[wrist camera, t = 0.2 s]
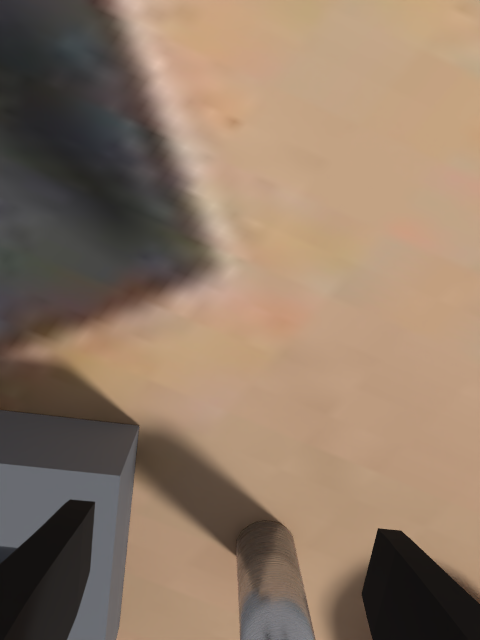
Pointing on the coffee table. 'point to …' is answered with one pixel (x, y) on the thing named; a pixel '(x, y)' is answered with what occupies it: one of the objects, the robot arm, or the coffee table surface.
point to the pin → (270, 585)
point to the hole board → (71, 483)
